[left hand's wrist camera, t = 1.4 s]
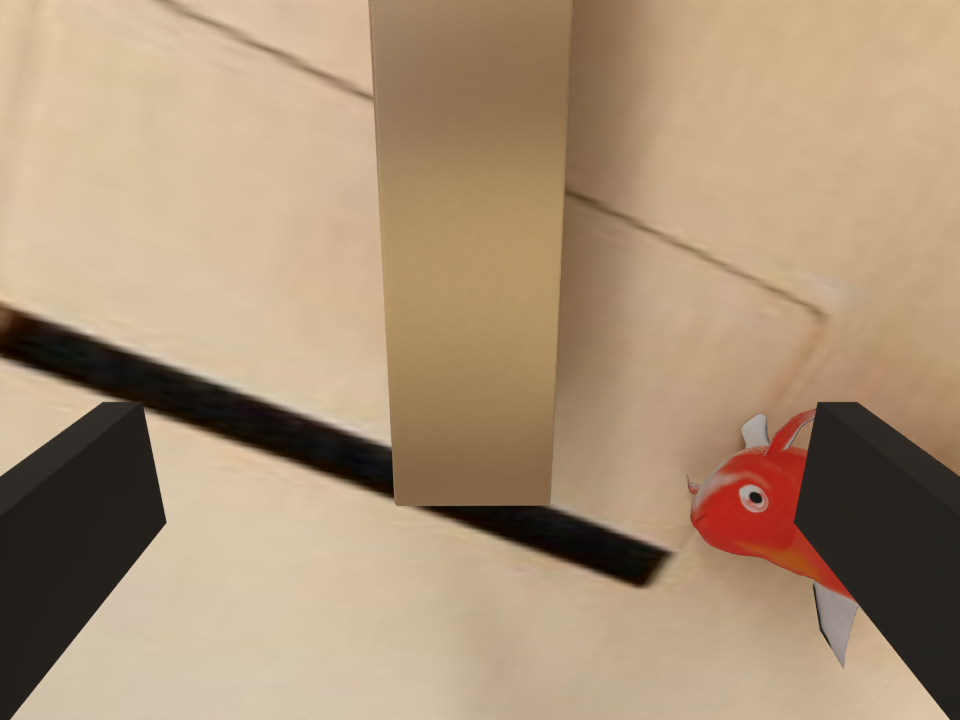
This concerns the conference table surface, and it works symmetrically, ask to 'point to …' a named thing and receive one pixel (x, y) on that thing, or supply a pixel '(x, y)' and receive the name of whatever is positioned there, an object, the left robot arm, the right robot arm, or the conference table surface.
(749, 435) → the fish
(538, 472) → the bar
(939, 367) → the conference table surface
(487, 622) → the conference table surface
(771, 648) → the conference table surface
